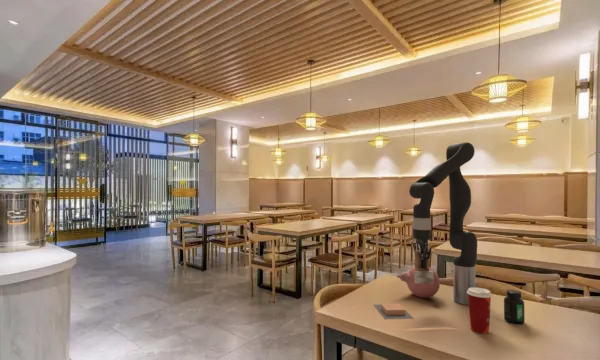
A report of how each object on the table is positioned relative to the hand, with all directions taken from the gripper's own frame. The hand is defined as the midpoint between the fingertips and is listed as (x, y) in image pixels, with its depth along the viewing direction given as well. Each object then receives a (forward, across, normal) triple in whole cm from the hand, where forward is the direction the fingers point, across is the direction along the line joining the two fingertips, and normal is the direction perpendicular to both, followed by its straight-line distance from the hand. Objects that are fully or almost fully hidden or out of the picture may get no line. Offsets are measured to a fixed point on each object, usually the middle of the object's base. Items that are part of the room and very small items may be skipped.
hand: (422, 267), depth 139 cm
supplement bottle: (+19, -13, -32) cm, 39 cm away
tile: (+17, +1, +14) cm, 22 cm away
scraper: (+6, 0, 0) cm, 6 cm away
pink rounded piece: (+19, +18, -6) cm, 27 cm away
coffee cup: (+19, -20, -13) cm, 31 cm away
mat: (+19, -2, +14) cm, 24 cm away
